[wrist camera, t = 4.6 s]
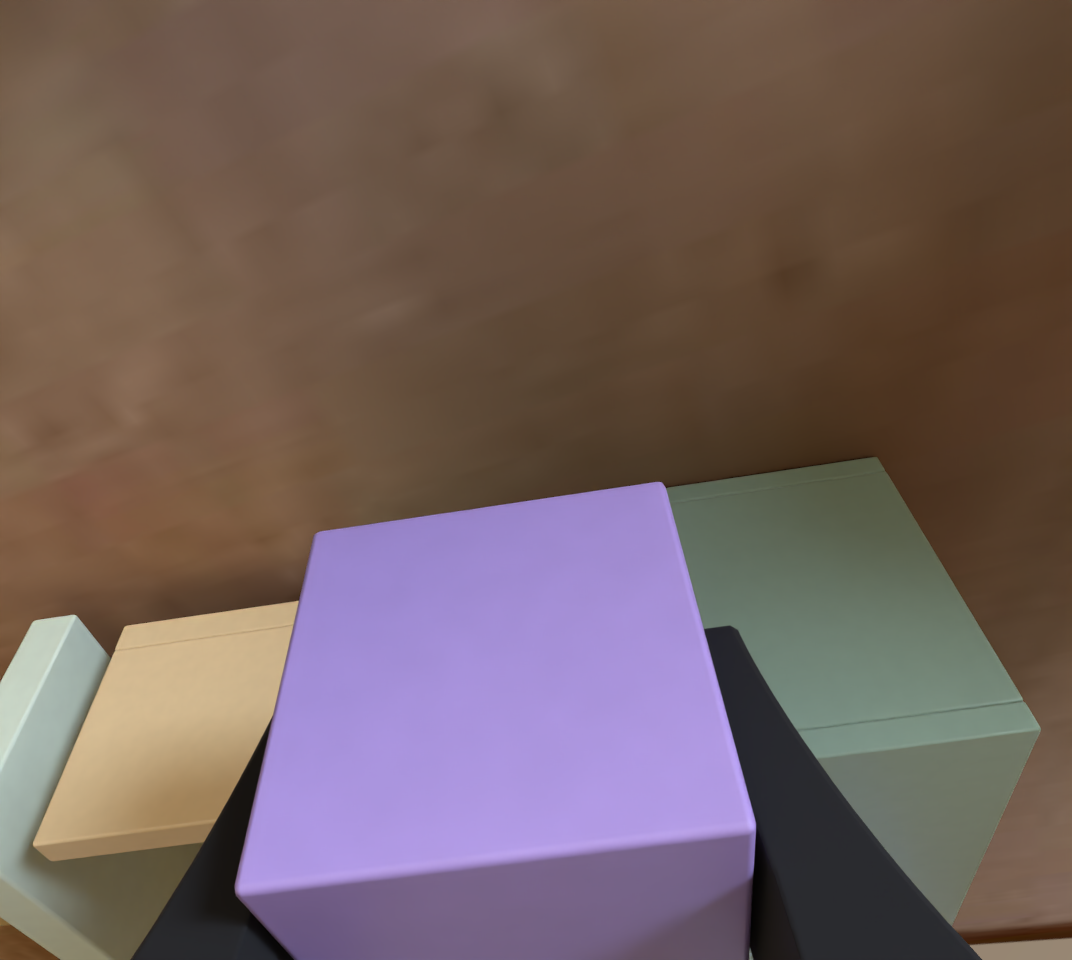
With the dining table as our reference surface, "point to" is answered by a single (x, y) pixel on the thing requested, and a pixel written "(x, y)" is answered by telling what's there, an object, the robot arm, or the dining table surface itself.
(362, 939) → the block
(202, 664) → the drawer
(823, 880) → the robot arm
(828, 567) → the cabinet
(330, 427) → the dining table surface
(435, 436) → the dining table surface
